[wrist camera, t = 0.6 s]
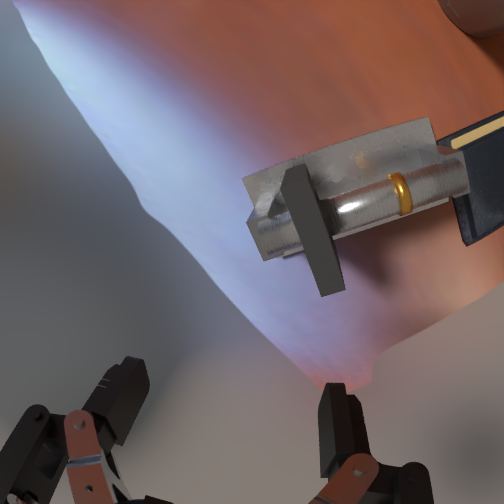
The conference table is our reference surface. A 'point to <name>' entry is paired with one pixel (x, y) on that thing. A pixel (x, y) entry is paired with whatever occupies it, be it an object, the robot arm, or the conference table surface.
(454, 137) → the wallet
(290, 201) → the dark grey wedge plate
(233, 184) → the conference table surface
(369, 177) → the pipe stand
